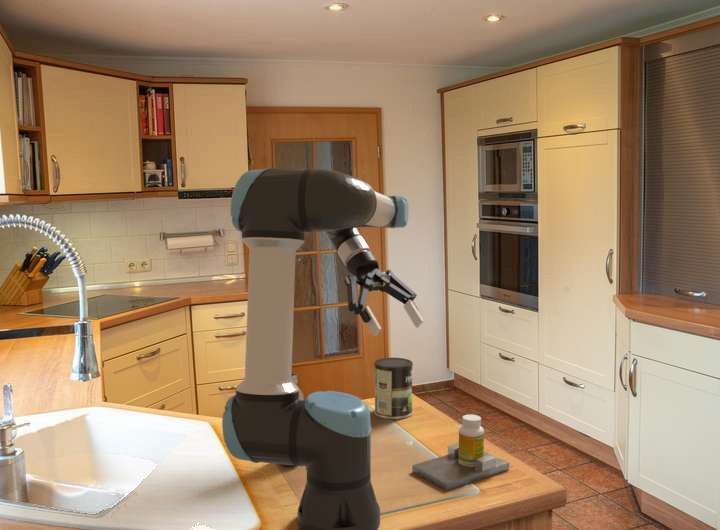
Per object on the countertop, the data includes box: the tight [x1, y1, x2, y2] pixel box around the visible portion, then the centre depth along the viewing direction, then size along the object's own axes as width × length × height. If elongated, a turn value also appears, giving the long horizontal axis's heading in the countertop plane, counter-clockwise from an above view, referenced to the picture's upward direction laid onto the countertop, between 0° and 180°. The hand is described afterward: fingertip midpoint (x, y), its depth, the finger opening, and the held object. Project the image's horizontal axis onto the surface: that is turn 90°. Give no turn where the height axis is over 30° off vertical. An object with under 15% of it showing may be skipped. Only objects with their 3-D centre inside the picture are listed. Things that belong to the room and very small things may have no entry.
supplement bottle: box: [458, 414, 485, 465], centre depth 149 cm, size 5×5×10 cm
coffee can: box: [373, 357, 413, 420], centre depth 184 cm, size 10×10×14 cm
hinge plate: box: [411, 442, 510, 491], centre depth 147 cm, size 18×11×4 cm, turn 125°
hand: (399, 328), depth 161 cm, fingers open, 13 cm apart
